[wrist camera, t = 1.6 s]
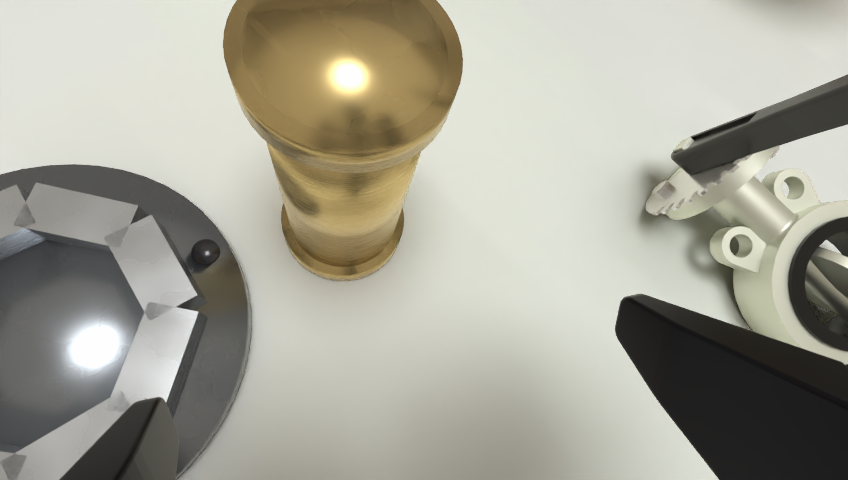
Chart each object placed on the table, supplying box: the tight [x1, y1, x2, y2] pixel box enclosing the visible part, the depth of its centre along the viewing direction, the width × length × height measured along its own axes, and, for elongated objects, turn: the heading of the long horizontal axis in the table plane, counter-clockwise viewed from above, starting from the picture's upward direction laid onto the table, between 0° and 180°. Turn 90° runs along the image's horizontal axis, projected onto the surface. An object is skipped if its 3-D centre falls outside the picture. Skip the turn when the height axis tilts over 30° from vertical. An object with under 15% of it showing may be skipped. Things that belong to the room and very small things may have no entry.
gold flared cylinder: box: [223, 0, 463, 281], centre depth 18 cm, size 6×6×13 cm
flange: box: [0, 164, 252, 480], centre depth 18 cm, size 16×16×2 cm
